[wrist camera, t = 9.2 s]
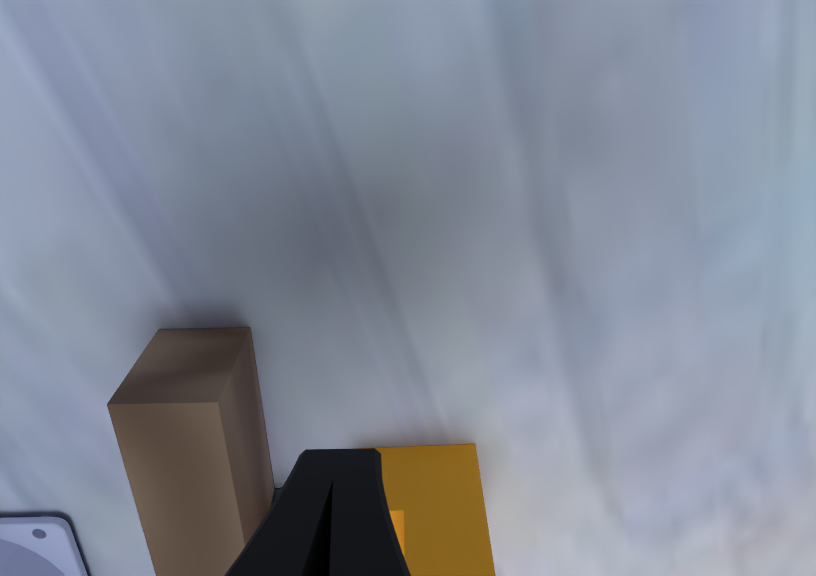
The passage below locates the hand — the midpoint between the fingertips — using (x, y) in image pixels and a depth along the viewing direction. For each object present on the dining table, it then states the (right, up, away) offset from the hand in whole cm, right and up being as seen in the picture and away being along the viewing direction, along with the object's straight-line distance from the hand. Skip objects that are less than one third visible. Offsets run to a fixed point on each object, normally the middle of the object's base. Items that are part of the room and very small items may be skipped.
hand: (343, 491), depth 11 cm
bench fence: (-5, -8, +15) cm, 18 cm away
